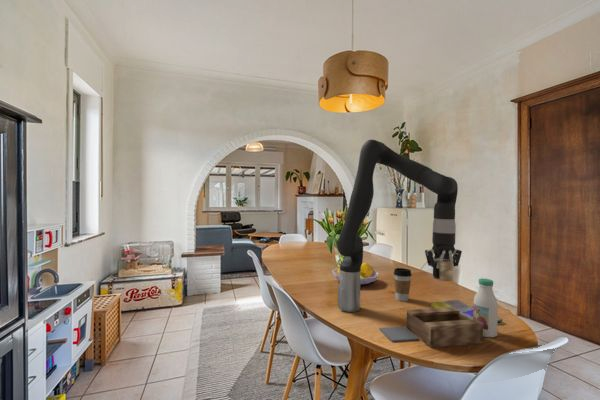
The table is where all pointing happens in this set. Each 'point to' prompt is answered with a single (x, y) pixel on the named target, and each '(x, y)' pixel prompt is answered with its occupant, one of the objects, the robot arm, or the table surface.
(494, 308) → the milk bottle
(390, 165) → the robot arm
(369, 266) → the fruit bowl
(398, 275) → the coffee cup
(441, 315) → the walnut box
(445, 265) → the maple block
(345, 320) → the table surface
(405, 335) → the slate pad
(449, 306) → the dish towel
